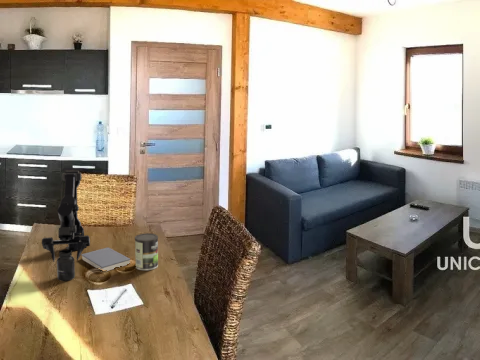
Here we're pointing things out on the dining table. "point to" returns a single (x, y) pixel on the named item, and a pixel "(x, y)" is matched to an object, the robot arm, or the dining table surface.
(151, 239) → the coffee can
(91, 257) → the book
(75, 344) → the dining table surface
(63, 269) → the supplement bottle
